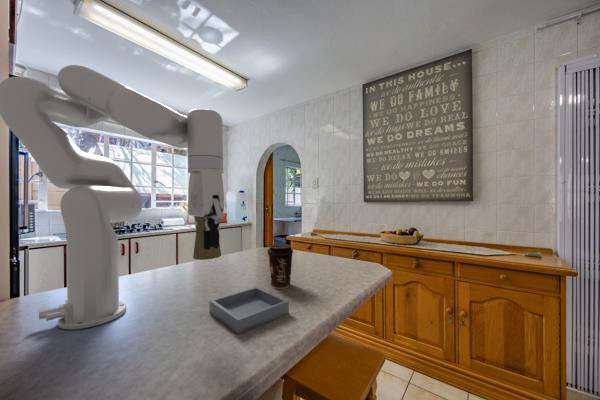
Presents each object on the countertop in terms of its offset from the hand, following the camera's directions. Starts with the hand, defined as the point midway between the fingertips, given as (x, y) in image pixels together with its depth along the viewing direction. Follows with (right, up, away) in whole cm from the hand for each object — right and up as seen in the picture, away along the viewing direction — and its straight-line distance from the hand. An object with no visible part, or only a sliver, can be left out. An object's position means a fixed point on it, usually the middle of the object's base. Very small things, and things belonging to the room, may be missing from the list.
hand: (207, 246), depth 56 cm
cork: (0, -2, 0) cm, 2 cm away
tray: (+8, -17, +5) cm, 20 cm away
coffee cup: (+15, -18, +25) cm, 34 cm away
